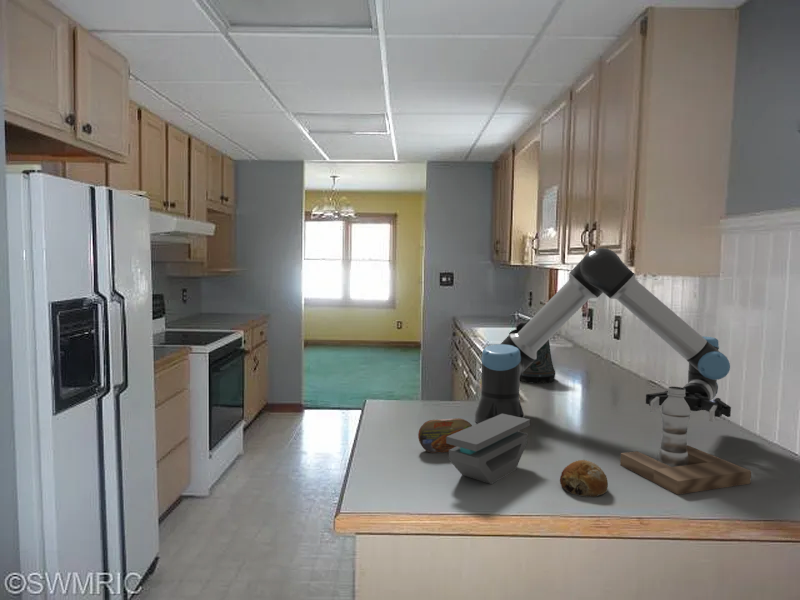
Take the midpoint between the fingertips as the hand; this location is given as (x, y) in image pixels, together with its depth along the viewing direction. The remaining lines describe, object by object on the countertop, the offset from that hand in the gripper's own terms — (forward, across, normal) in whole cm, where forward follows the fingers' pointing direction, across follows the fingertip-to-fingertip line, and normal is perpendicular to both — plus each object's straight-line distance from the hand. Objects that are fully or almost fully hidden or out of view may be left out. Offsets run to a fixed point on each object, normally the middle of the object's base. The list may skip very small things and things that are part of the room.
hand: (680, 411), depth 140 cm
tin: (+31, +50, -13) cm, 60 cm away
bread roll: (+33, +13, -13) cm, 38 cm away
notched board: (+10, -3, -13) cm, 16 cm away
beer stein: (-66, +69, -13) cm, 96 cm away
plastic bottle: (+8, 0, -13) cm, 15 cm away
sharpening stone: (+38, +34, -13) cm, 52 cm away
